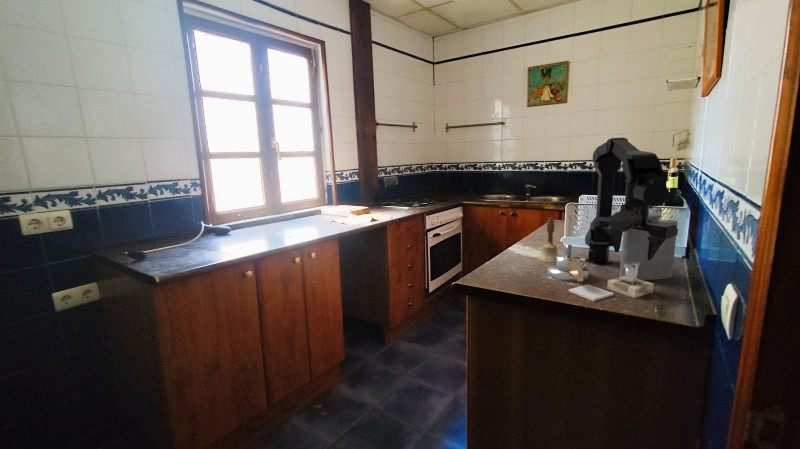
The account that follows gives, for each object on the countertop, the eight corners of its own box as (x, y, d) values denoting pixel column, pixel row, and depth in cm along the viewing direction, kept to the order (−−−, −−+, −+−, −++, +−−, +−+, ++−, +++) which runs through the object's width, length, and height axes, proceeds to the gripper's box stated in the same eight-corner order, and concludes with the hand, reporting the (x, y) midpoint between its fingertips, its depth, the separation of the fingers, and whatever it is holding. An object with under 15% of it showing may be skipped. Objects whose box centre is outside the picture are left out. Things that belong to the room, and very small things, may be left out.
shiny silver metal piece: (630, 287, 106) (632, 260, 105) (640, 290, 104) (643, 262, 102) (618, 290, 104) (621, 262, 103) (629, 293, 102) (631, 265, 100)
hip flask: (666, 274, 116) (673, 211, 112) (676, 278, 112) (683, 214, 108) (617, 276, 115) (622, 214, 111) (625, 281, 111) (631, 216, 107)
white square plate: (587, 286, 108) (588, 284, 108) (613, 295, 101) (613, 293, 101) (568, 291, 105) (568, 289, 105) (593, 301, 98) (593, 299, 98)
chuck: (553, 264, 122) (554, 242, 121) (576, 264, 121) (577, 242, 119) (567, 283, 105) (568, 257, 104) (593, 283, 104) (594, 257, 102)
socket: (625, 283, 109) (626, 275, 109) (653, 292, 102) (653, 283, 102) (607, 288, 106) (607, 280, 106) (634, 297, 99) (635, 289, 98)
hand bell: (563, 263, 130) (566, 219, 127) (539, 262, 132) (540, 219, 129) (558, 256, 138) (560, 215, 135) (535, 256, 140) (537, 215, 137)
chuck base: (565, 266, 126) (565, 261, 126) (596, 276, 116) (597, 270, 115) (539, 272, 121) (539, 267, 121) (569, 283, 111) (569, 277, 110)
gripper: (586, 199, 104) (583, 252, 107) (654, 208, 87) (648, 270, 91) (612, 196, 109) (608, 246, 112) (682, 203, 92) (675, 262, 95)
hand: (632, 255), depth 102 cm, fingers open, 9 cm apart
